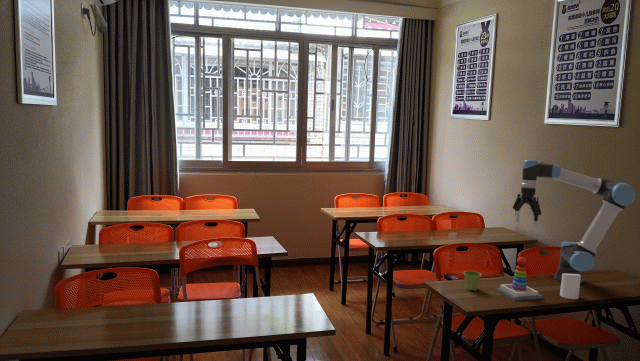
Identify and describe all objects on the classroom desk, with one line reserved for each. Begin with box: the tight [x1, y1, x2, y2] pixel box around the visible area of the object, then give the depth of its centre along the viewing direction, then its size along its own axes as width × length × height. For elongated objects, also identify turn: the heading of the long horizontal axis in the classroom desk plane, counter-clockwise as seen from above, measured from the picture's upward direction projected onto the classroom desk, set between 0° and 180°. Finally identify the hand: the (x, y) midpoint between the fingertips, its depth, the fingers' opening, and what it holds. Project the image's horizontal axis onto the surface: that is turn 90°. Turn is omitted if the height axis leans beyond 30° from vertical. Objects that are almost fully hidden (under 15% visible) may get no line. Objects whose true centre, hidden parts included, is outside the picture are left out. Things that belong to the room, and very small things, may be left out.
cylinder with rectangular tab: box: [559, 273, 581, 300], centre depth 274 cm, size 9×9×12 cm
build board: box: [494, 283, 544, 302], centre depth 273 cm, size 18×16×4 cm
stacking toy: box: [511, 256, 528, 292], centre depth 272 cm, size 8×8×19 cm
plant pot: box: [463, 270, 483, 292], centre depth 277 cm, size 9×9×9 cm
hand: (525, 224), depth 291 cm, fingers open, 13 cm apart
